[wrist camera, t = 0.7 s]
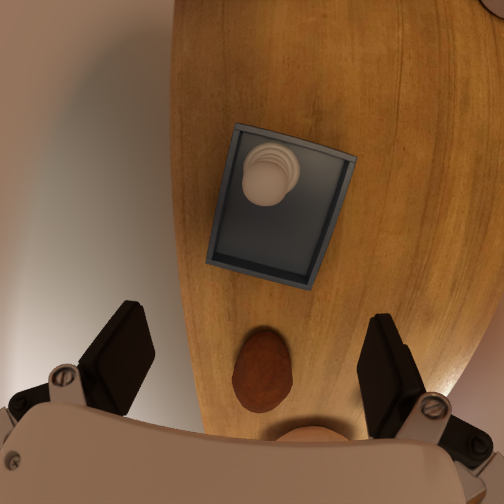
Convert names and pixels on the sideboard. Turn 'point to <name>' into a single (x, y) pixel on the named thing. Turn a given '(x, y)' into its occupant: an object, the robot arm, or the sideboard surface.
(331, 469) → the robot arm
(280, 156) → the chess piece
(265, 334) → the potato
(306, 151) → the tray
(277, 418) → the sideboard surface
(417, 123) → the sideboard surface
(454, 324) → the sideboard surface
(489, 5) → the beverage can
